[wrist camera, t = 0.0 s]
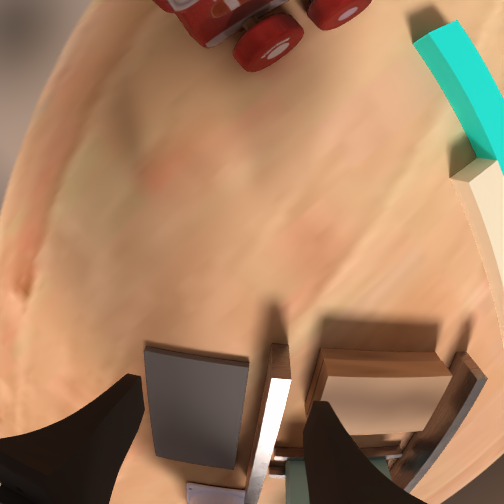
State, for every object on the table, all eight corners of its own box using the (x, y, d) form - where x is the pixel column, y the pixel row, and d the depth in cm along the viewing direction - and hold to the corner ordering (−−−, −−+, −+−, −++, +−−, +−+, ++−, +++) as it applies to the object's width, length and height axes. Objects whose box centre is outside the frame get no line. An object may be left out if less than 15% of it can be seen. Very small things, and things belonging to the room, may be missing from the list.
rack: (394, 474, 28) (402, 500, 24) (246, 476, 28) (243, 505, 24) (466, 352, 22) (487, 378, 19) (271, 343, 23) (271, 378, 19)
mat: (234, 465, 28) (233, 469, 27) (157, 451, 28) (155, 455, 27) (249, 362, 23) (248, 367, 23) (146, 346, 23) (143, 350, 23)
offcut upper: (415, 415, 23) (422, 430, 21) (306, 416, 23) (308, 434, 21) (442, 361, 21) (452, 375, 19) (324, 358, 21) (328, 376, 19)
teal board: (376, 462, 27) (389, 513, 20) (285, 463, 27) (286, 520, 21) (383, 451, 27) (398, 503, 20) (288, 452, 27) (290, 511, 20)
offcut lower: (408, 400, 25) (414, 415, 23) (304, 400, 25) (305, 416, 23) (432, 348, 23) (441, 361, 21) (319, 343, 23) (323, 358, 21)
